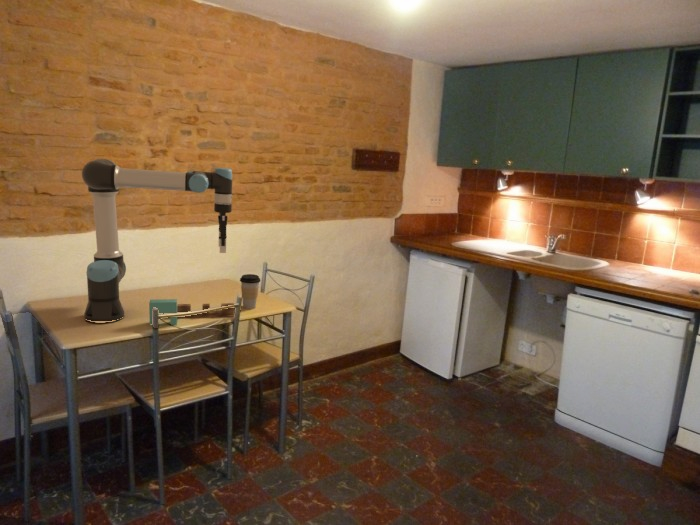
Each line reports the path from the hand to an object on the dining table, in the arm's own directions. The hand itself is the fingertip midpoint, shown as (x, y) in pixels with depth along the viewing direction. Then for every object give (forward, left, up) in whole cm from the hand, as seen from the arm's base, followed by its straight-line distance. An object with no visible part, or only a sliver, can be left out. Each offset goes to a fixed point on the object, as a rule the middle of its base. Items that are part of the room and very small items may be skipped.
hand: (222, 249), depth 233 cm
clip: (-24, -21, -27) cm, 42 cm away
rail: (-7, -12, -27) cm, 31 cm away
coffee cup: (+13, -2, -27) cm, 30 cm away
